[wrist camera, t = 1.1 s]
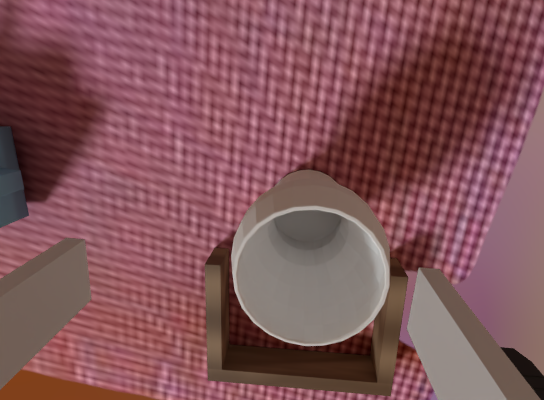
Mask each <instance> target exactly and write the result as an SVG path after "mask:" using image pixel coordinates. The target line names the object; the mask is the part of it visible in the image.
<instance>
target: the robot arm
mask: <svg viewBox="0 0 544 400" xmlns="http://www.w3.org/2000/svg"><path fill="white" fill-rule="evenodd" d="M90 300H91V291H90V282H89V272H88V263H87V254H86V245H85V239H75V238H65V239H64V240H62V241H61V242H59V243H57V244H56V245H54V246H53V247H51V248H49V249H48V250H46V251H45V252H43V253H41V254H40V255H38V256H36V257H35V258H33V259H32V260H30V261H28V262H27V263H25V264H24V265H22V266H20V267H19V268H17V269H16V270H14V271H12V272H11V273H9V274H8V275H6V276H4V277H3V278H1V279H0V389H1V388H2V387H3V386H4V385H5V384H6V383H7V382H8V381H9V380H10V379H11V378H12V377H14V376H15V374H17V373H18V372H19V371H20V370H21V369H22V368H23V367H24V366H25V365H26V364H27V363H28V362H29V361H30V360H31V359H32V358H33V357H34V356H35V355H36V354H37V353H38V352H39V351H40V350H41V349H42V348H43V347H44V346H45V345H46V344H47V343H48V342H49V341H50V340H51V339H52V338H53V337H54V336H55V335H56V334H57V333H58V332H59V331H60V330H61V329H62V328H63V327H64V326H65V325H66V324H67V323H68V322H69V321H70V320H71V319H72V318H73V317H74V316H75V315H76V314H77V313H78V312H79V311H80V310H81V309H82V308H83V307H84V306H85V305H86V304H87V303H88V302H89V301H90ZM407 331H408V333H409V335H410V337H411V340H412V342H413V344H414V347H415V349H416V351H417V353H418V356H419V358H420V360H421V362H422V365H423V367H424V369H425V371H426V374H427V376H428V378H429V380H430V383H431V385H432V387H433V389H434V392H435V394H436V396H437V398H438V400H544V376H543V375H542V374H541V372H540V371H539V370H538V369H537V368H536V366H534V364H533V363H532V362H531V361H530V360H528V359H527V358H526V357H524V356H523V355H522V354H520V353H519V352H518V351H516V350H515V349H513V348H502V347H499V345H498V344H497V343H496V341H495V340H494V339H493V338H492V336H491V335H490V334H489V332H488V331H487V330H486V328H485V327H484V326H483V325H482V323H481V322H480V321H479V320H478V318H477V317H476V316H475V314H474V313H473V312H472V310H471V309H470V308H469V307H468V305H467V304H466V303H465V301H464V300H463V299H462V298H461V296H460V295H459V294H458V292H457V291H456V290H455V289H454V287H453V286H452V285H451V283H450V282H449V281H448V280H447V278H446V277H445V276H444V274H443V273H442V272H441V271H440V269H431V268H420V267H419V269H418V274H417V279H416V284H415V290H414V294H413V299H412V304H411V310H410V315H409V320H408V325H407Z"/></svg>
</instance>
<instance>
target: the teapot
mask: <svg viewBox="0 0 544 400" xmlns="http://www.w3.org/2000/svg"><path fill="white" fill-rule="evenodd" d="M26 216H29V213H28V208H27V203H26V198H25V194H24V185H23V180H22V175H21V170H20V169H19V164H18V159H17V154H16V149H15V144H14V140H13V135H12V130H11V126H0V228H1V227H3V226H5V225H8V224H10V223H12V222H15V221H17V220H19V219H22V218H24V217H26Z"/></svg>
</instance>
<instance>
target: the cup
mask: <svg viewBox="0 0 544 400" xmlns="http://www.w3.org/2000/svg"><path fill="white" fill-rule="evenodd" d="M231 261H232V274H233V281H234V289H235V293H236V295H237V298H238V300H239V302H240V305H241V307H242V309H243V310H244V311H245V312H246V314H247V315H248V316H249V318H250V319H251V320H252V321H253V323H255V324H256V325H257V326H258V327H260V328H261V329H262V330H264V331H265V332H266V333H268V334H269V335H271V336H273V337H276V338H278V339H280V340H282V341H284V342H288V343H293V344H297V345H302V346H324V345H328V344H332V343H336V342H340V341H344V340H345V339H347V338H349V337H351V336H353V335H355V334H357V333H359V332H360V331H361V330H363V329H364V328H365V327H366V326H367V325H368V324H369V323H370V322H372V321H373V320H374V319H375V317H376V316H377V314H378V313H379V311H380V309H381V308H382V306H383V305H384V303H385V300H386V297H387V293H388V290H389V287H390V248H389V244H388V241H387V238H386V234H385V231H384V229H383V227H382V226H381V224H380V222H379V221H378V219H377V218H376V216H375V215H374V213H373V212H372V210H371V209H370V207H369V206H368V204H367V203H366V202H365V201H364V200H363V199H361V198H360V197H359V196H358V195H357V194H356V193H354V192H353V191H352V190H350V189H348V188H346V187H344V186H341V185H339V184H338V183H337V182H336V181H334V180H333V179H332V178H331V177H330V176H328V175H326V174H324V173H322V172H319V171H314V170H299V171H296V172H293V173H290V174H288V175H287V176H285V177H284V178H282V179H281V180H280V181H279V182H278V183H277V185H276V186H274V187H273V188H271V189H270V190H268V191H267V192H265V193H264V194H262V195H261V196H259V197H258V199H257V200H256V201H255V202H254V203H253V204H252V205H251V207H250V208H249V209H248V210H247V211H246V213H245V215H244V217H243V219H242V221H241V223H240V226H239V228H238V230H237V232H236V234H235V236H234V241H233V247H232V254H231Z"/></svg>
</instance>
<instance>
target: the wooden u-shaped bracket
mask: <svg viewBox="0 0 544 400" xmlns="http://www.w3.org/2000/svg"><path fill="white" fill-rule="evenodd" d="M407 282H408V276H407V275H406V273H405V271H404V269H403V268H402V266H401V264H400V263H399V261H398V259H396V258H390V287H389V290H388V293H387V297H386V300H385V303H384V305H383V306H382V308H381V309H380V311H379V313H378V314H377V316H376V317H375V320H374V328H373V336H372V344H371V352H370V356H368V355H356V354H343V353H330V352H318V351H305V350H292V349H279V348H267V347H254V346H241V345H229V249H228V248H214V250H213V252H212V253H211V255H210V257H209V258H208V260H207V262H206V264H205V287H206V325H207V363H208V380H209V381H221V382H233V383H244V384H256V385H267V386H279V387H290V388H302V389H314V390H325V391H337V392H348V393H360V394H371V395H383V396H391V390H392V383H393V376H394V370H395V363H396V356H397V349H398V343H399V336H400V328H401V322H402V315H403V309H404V302H405V295H406V288H407Z"/></svg>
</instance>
